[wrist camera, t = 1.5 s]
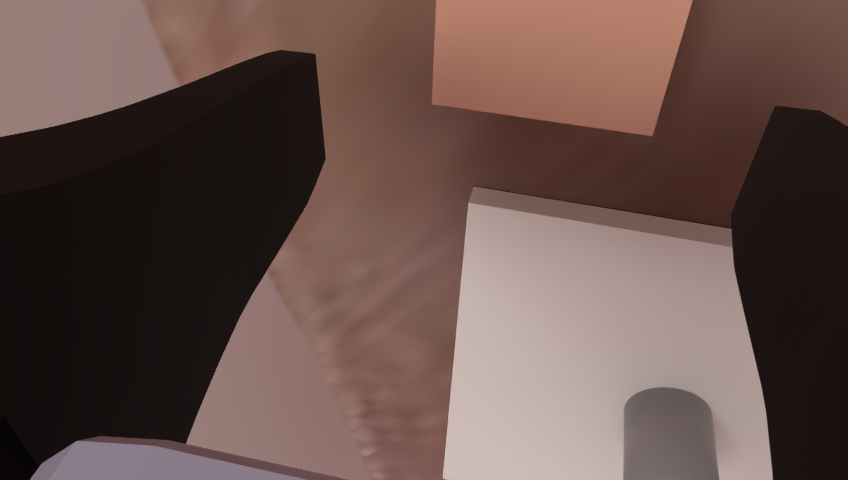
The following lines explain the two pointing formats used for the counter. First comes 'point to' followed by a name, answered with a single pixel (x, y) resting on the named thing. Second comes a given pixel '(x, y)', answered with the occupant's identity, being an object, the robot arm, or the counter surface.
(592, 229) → the post board
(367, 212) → the counter surface
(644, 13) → the tan brick
